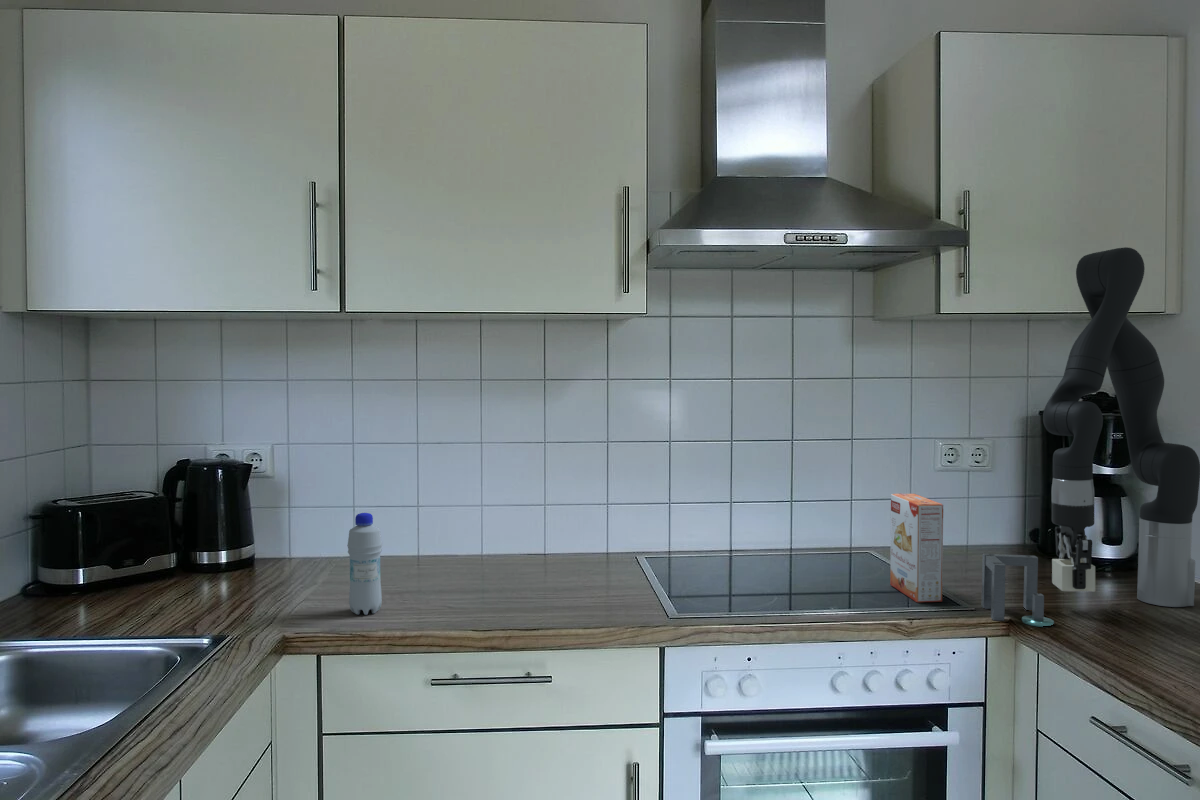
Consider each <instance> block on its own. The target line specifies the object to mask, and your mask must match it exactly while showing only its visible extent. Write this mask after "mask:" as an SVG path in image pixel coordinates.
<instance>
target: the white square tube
mask: <svg viewBox="0 0 1200 800" xmlns="http://www.w3.org/2000/svg"><path fill="white" fill-rule="evenodd" d="M1080 563H1082V560H1081V559H1080ZM1072 570H1073V569H1072V563H1071V559H1059V558H1052V559H1051V572H1052V573H1051V583H1052V584H1053V585H1054V586H1055V587H1057V588H1058V589H1059V590H1060V591H1062V592H1091V593H1092V592H1096V566H1095V565H1094V564H1092V563H1091V569H1087V570H1086V588H1085V589H1075V588H1073V578H1072Z"/></svg>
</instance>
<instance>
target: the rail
mask: <svg viewBox="0 0 1200 800" xmlns="http://www.w3.org/2000/svg"><path fill="white" fill-rule="evenodd" d="M981 562H982V563H981V564H982V565H981V567H982V568H981V604H980V605H981V607H982V609H983V608H985V609H984V610H990V618H991V619H992V621H1000V622H1002V621H1003V622H1005V612H1006V611H1005V609H1006V608H1005V607H1006V604H1005V602H1006V601H1005V600H1006V570H1007V569H1006V566H1013V567H1014V566H1015V567H1024V569H1023V571H1024V572H1023V603H1022V604H1023V605H1022V606H1023V607H1024V608H1025V609H1026V610H1032V603H1033V593H1038V579H1039V578H1038V577H1039V576H1038V574H1039V573H1038V571H1039V557H1038V556H1036V555H1028V554H1027V555H1024V554H1023V555H1021V554H1001V553H1000V554H998V553H982V560H981ZM1024 608H1023V609H1024ZM1025 609H1024V610H1025ZM1026 610H1025V611H1026Z"/></svg>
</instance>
